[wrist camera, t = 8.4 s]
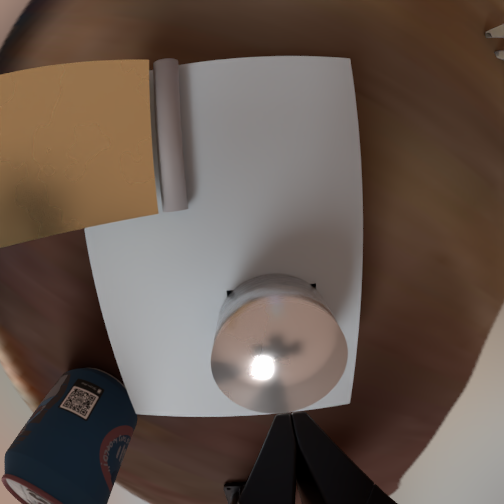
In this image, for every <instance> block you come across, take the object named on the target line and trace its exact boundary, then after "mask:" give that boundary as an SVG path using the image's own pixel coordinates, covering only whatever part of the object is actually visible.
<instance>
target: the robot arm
mask: <svg viewBox="0 0 504 504" xmlns="http://www.w3.org/2000/svg"><path fill="white" fill-rule="evenodd" d="M296 482H297V486H298V490H299V494H300V498H301V501H302V504H397V503H396V502H395V501H394V500H392V499H391V498H390V497H389V496H388V495H387V494H386V493H384V492H383V491H382V490H381V489H380V488H379V487H378V486H377V485H376V484H375V485H374V482H373V481H372V480H371V479H370V478H369V477H368V476H367V475H366V474H365V473H364V472H363V471H362V470H361V469H360V468H359V467H358V466H357V465H356V464H355V463H354V462H353V461H352V460H351V459H350V458H349V457H348V456H347V455H346V454H345V453H344V452H343V451H342V450H341V449H340V448H339V447H338V446H337V445H336V444H335V443H334V442H333V441H332V440H331V439H330V438H329V437H328V435H327V434H326V433H325V432H324V431H323V430H322V429H321V428H320V427H319V426H318V425H317V424H316V423H315V422H314V420H313V419H312V418H311V417H310V416H309V415H308V414H307V413H306V412H295V413H292V414H291V415H290V414H289V413H286V414H277V415H276V416H275V417H274V420H273V422H272V425H271V427H270V430H269V432H268V435H267V437H266V439H265V442H264V444H263V446H262V449H261V451H260V453H259V456H258V458H257V460H256V463H255V465H254V467H253V469H252V471H251V474H250V476H249V478H248V480H247V482H246V483H230V484H224V491H225V495H226V498H227V501H228V504H295V492H296Z"/></svg>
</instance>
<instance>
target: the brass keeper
mask: <svg viewBox="0 0 504 504" xmlns="http://www.w3.org/2000/svg"><path fill="white" fill-rule="evenodd" d="M155 214H159V213H158V204H157V195H156V185H155V174H154V163H153V150H152V135H151V117H150V91H149V60H104V61H88V62H77V63H67V64H59V65H51V66H44V67H38V68H32V69H26V70H21V71H16V72H11V73H6V74H2V75H0V248H2V247H6V246H10V245H14V244H18V243H22V242H26V241H30V240H34V239H38V238H43V237H47V236H51V235H56V234H60V233H64V232H69V231H74V230H78V229H83V228H88V227H92V226H97V225H102V224H107V223H112V222H117V221H122V220H128V219H133V218H138V217H144V216H149V215H155Z"/></svg>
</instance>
